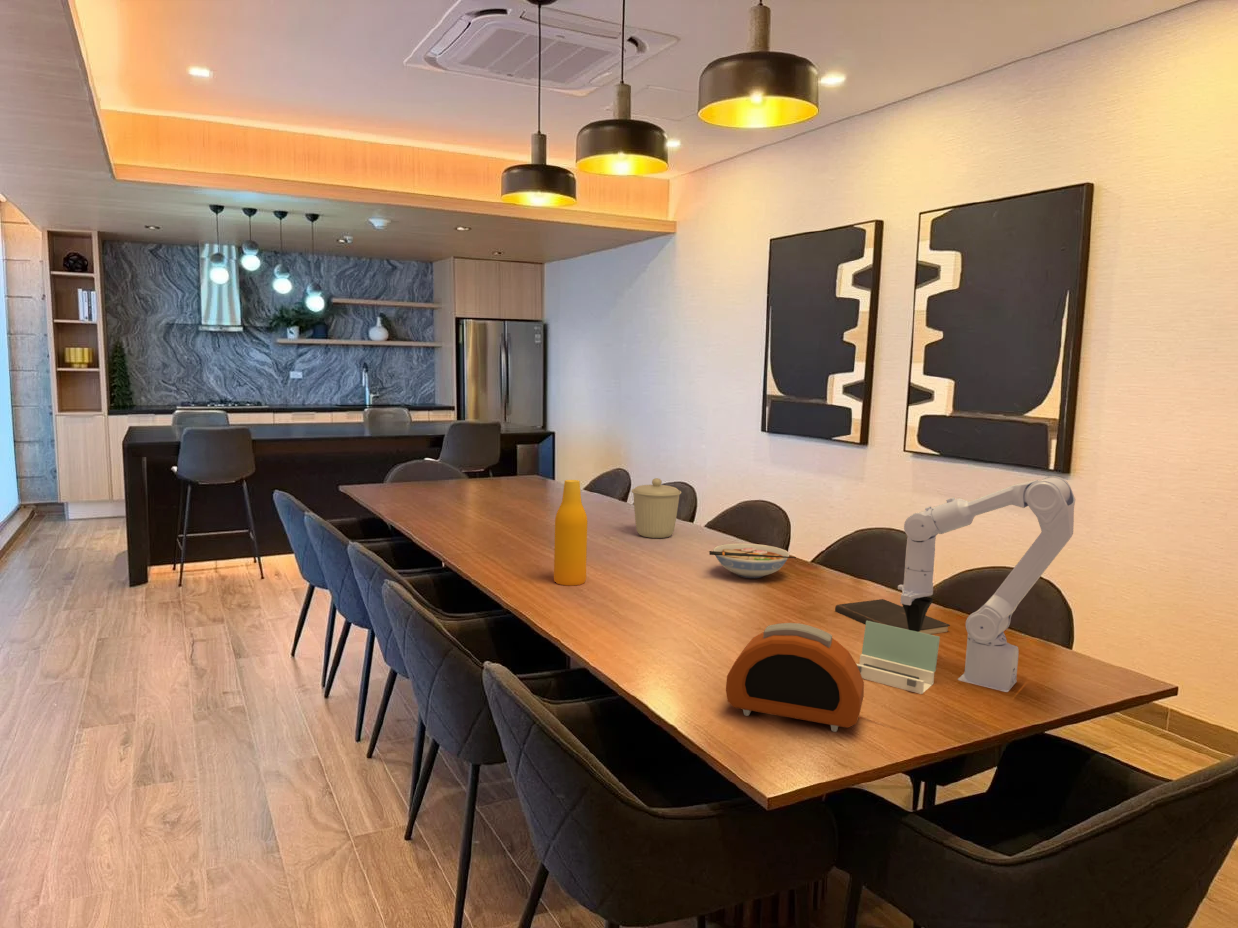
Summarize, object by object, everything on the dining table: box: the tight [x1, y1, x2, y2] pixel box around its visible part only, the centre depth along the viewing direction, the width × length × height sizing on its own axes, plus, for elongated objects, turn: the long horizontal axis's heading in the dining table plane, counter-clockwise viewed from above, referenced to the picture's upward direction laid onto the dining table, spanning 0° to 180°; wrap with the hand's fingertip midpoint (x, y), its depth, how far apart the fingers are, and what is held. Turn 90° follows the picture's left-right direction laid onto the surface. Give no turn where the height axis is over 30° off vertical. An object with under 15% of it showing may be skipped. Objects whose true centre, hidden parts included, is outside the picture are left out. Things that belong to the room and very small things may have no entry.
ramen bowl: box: [708, 542, 797, 579], centre depth 247 cm, size 25×23×8 cm
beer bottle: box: [553, 479, 588, 587], centre depth 233 cm, size 9×9×29 cm
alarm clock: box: [725, 622, 865, 733], centre depth 148 cm, size 23×9×17 cm, turn 69°
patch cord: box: [863, 663, 919, 679], centre depth 166 cm, size 11×2×2 cm, turn 52°
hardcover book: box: [834, 598, 951, 635], centre depth 207 cm, size 16×23×2 cm
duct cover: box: [861, 621, 941, 673], centre depth 169 cm, size 15×7×1 cm
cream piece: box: [856, 653, 935, 695], centre depth 166 cm, size 15×8×3 cm, turn 52°
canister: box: [631, 477, 682, 539], centre depth 300 cm, size 18×18×21 cm
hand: (914, 630), depth 176 cm, fingers closed
